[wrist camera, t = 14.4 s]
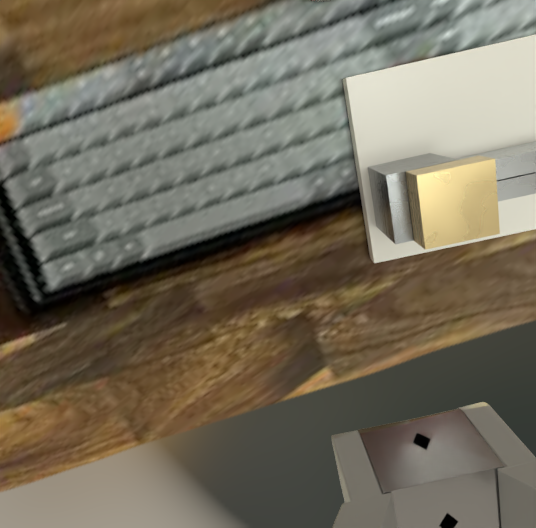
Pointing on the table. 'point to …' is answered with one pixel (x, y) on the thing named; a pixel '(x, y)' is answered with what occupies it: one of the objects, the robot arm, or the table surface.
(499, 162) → the tongs arm
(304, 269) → the table surface
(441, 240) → the tab
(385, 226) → the tongs
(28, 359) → the table surface
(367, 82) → the cutting board
